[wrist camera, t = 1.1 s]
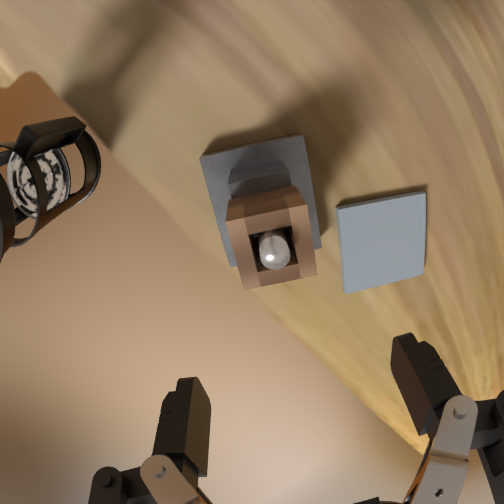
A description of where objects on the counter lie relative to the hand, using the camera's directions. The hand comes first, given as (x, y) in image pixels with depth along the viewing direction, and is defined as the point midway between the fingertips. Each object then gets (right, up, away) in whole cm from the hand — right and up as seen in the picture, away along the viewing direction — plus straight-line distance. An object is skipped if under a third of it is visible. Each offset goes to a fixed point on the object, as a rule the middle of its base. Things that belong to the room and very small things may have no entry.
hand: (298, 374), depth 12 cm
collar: (0, +7, +14) cm, 16 cm away
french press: (-22, +15, +18) cm, 32 cm away
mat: (+14, +6, +23) cm, 28 cm away
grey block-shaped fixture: (-1, +10, +21) cm, 23 cm away
